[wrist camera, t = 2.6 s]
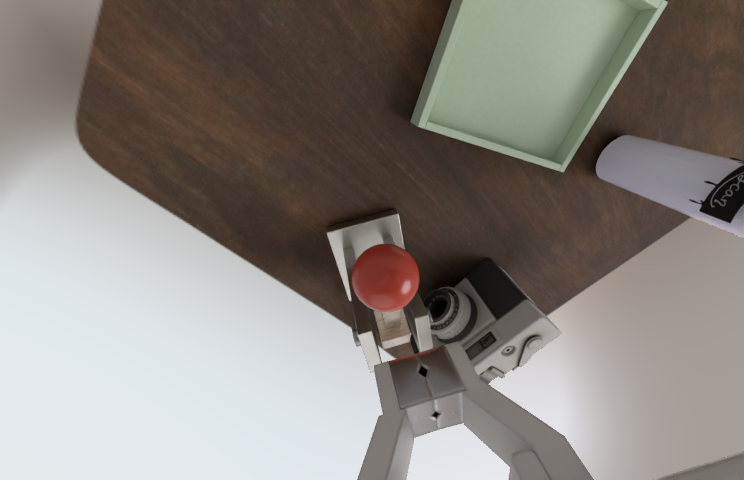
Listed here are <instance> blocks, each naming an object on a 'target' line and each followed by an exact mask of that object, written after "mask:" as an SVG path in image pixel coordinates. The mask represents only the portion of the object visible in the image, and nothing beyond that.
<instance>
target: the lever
mask: <svg viewBox="0 0 744 480" xmlns="http://www.w3.org/2000/svg"><path fill="white" fill-rule="evenodd" d="M419 281H420V276H419V270H418V266H417V264H416V262H415V260H414V259H413V257H412V256H411V255H410V254H409V253H408V252H407V251H406V250H404V249H403V248H401V247H399V246H396V245H393V244H378V245H374V246H372V247H370V248H368V249H366V250H365V251H364V252H363V253H362V254H361V255H360V256H359V257H358V259H357V260H356V262H355V264H354V266H353V270H352V286H353V289H354V292H355V294H356V295H357V297H358V299H359V300H360V301H361V302H362V303H363V304H364V305H366V306H367V307H369V308H370V309H373V310H374V311H373V312H374V316H375V320H376V324H377V328H378V331H379V335H380V339H381V343H382V346H383V348H384V349H386V348H390V347H393V346H397V345H400V344H404V343H407V342H410V340H411V331H410V328H409V325H408V322H407V319H406V316H405V312H404V309H403V307H405V306H406V305H407V304H408V303H409V302H410V301H411V300H412V299H413V298H414V296H415V294H416V292H417V290H418V287H419Z"/></svg>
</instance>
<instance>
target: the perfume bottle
mask: <svg viewBox="0 0 744 480" xmlns="http://www.w3.org/2000/svg"><path fill="white" fill-rule="evenodd" d="M741 161H742V160H739V159H736V158H730V159H728V158H724V157H720V156H716V155H712V154H707V153H703V152H699V151H695V150H691V149H686V148H682V147H678V146H674V145H670V144H666V143H661V142H657V141H653V140H649V139H645V138H640V137H636V136H632V135H625V136H621V137H619V138H617V139H615V140H614V141H612V142H611V143H610V144H609V145H608V146H607V147H606V148H605V149H604V150H603V151H602V153H601V155H600V156H599V158H598V161H597V164H596V174H597V176H598V177H599V178H600V179H602V180H604V181H606V182H609V183H611V184H613V185H616V186H618V187H621V188H623V189H625V190H628V191H630V192H633V193H635V194H637V195H640V196H642V197H645V198H647V199H649V200H652V201H654V202H657V203H659V204H662V205H664V206H666V207H669V208H671V209H674V210H676V211H678V212H681V213H683V214H686V215H688V216H690V217H693V218H695V219H698V220H700V221H703V222H705V223H708V224H710V225H712V226H715V227H717V228H719V229H722V230H724V231H727V232H729V233H731V234H734V235H736V236H739V237H741V238H743V239H744V161H742V162H741Z"/></svg>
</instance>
